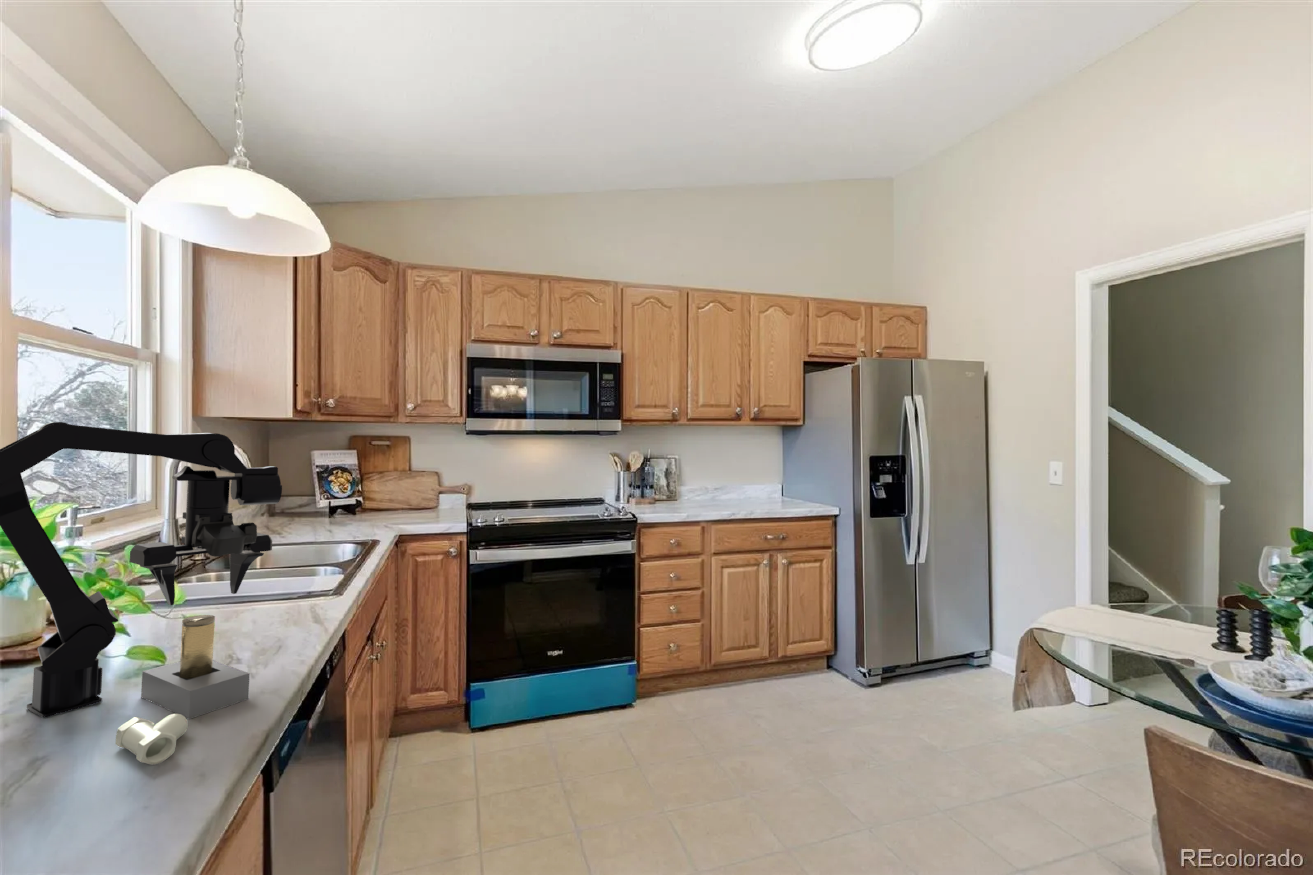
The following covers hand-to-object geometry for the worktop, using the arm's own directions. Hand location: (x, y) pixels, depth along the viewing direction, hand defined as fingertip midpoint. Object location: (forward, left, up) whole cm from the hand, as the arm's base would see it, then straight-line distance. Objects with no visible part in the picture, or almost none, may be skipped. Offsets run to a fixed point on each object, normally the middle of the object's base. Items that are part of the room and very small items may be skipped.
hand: (203, 599), depth 100 cm
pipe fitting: (-15, -22, -14) cm, 29 cm away
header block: (-5, -9, -13) cm, 16 cm away
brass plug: (-5, -9, -9) cm, 14 cm away
